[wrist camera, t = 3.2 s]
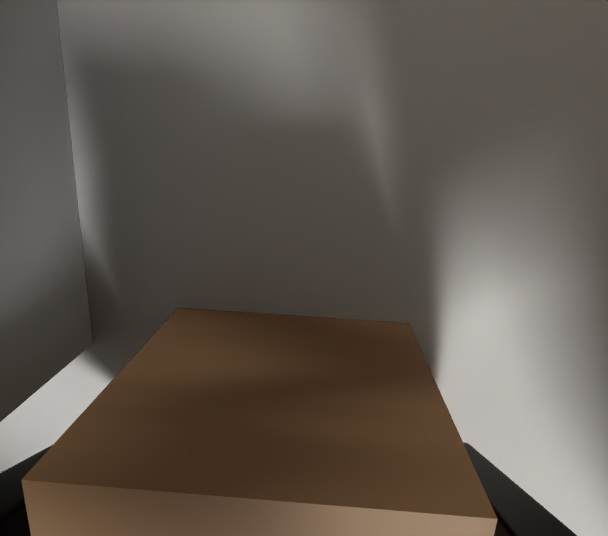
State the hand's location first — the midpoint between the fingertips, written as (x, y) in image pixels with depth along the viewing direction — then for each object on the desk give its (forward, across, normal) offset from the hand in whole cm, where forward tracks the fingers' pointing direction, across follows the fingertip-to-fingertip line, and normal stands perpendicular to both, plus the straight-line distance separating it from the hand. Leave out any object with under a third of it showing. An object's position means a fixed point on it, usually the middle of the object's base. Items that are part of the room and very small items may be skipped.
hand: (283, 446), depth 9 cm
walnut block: (+1, 0, 0) cm, 1 cm away
